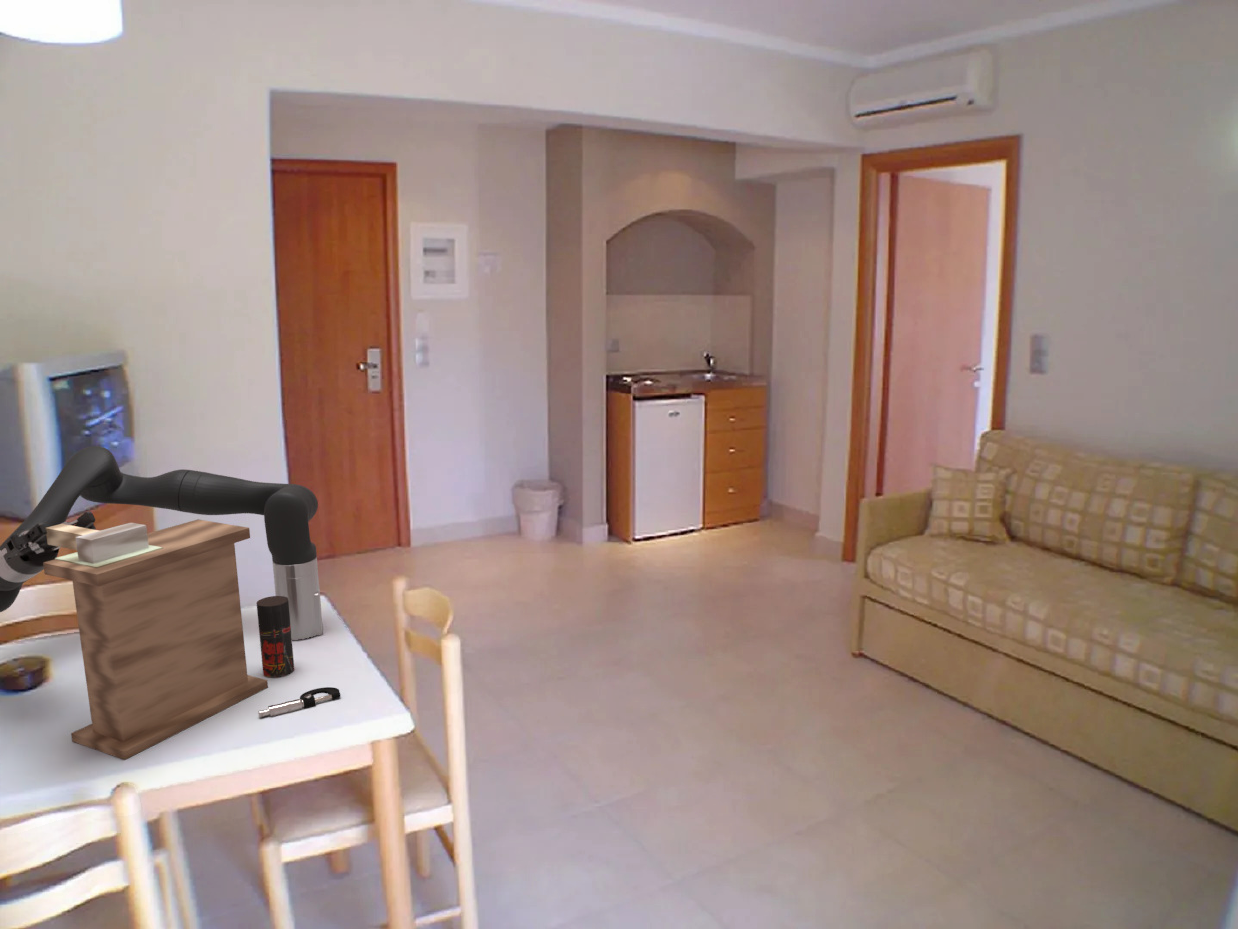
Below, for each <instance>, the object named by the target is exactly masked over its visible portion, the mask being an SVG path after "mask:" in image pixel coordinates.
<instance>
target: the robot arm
mask: <svg viewBox="0 0 1238 929" xmlns="http://www.w3.org/2000/svg"><path fill="white" fill-rule="evenodd" d="M79 497H81V498H82V499H84V500H86V501H88V502H93V503H97V504H99V503H100V504H111V505H112V504H114V505H131V506H133V505H134V506H142V507H149V508H158V509H163V510H172V511H177V512H182V513H186V514H187V513H189V514H192V515H193V514H194V515H195V514H196V515H201V516H202V515H203V516H226V515H227V516H228V515H238V514H241V515H242V514H250V515H251V514H252V515H258V516H259V515H260V516H263V520H264V521H263V522H264V527H265V528H264V529H265V534H266V542H267V543H266V544H267V547H268V548H267V549H268V551H269V553H270V555H271V559H272V571H273V584H274V592H275V593H274V594H275V595H274V596H284V597H287V598H288V601H289V613H290V625H291V636H292V641H298V639H302V640H304V639H303V638H307V639H310V638H309V637H311V638H313V636H314V637H316V636H315V635H317V636H320V635H319V634H322V633H323V627H322V625H323V615H322V613H323V612H322V601H321V590H320V589H321V588H320V583H319V582H320V581H319V570H318V569H319V568H318V557H317V556H318V555H317V547H316V544H315V543H314V542H312V541H311V535H310V524H309V522H310V521H311V520H312V519H313V518H314V517H315V515H316V513H317V512H318V507H319V502H318V498H317V496H316V495H315V494H314V492H313V491H312V490H311V489H309V488H307V487H305V486H304V485H302V484H301V485H300V484H295V483H279V482H278V483H274V482H259V481H254V480H253V481H252V480H247V479H243V478H238V477H233V476H228V475H227V476H226V475H223V474H216V473H210V472H206V471H200V470H199V471H198V470H193V469H175V470H172V471H168V472H165V473H162V474H160V475H156V476H151V477H147V476H146V477H145V476H139V475H138V476H137V475H132V474H131V475H130V474H127V473H123V472H122V471H121V469H120V467H119V465H118V462H117V460H116V458H115V455H114V454H113V453H112V451H110V450H109V449H107V448H106V447H104V446H100V445H99V446H98V445H92V446H87V447H84V448H82V449H80V450H78V451H76V452H75V453H74V454H73V455H72V456H71V457H70V458H69V460H68V461H67V462H66V463H65V465H64V466H63V468H62V469H61V471H60V472H59V474H58V475H57V476H56V478H55V480H54V481H53V483H52V484H51V485H50V487H49V488H48V490H47V491H46V492H45V494H44V495H43V497H42V498H41V500H40V501H39V502H38V503H37V505H36V506H35V507H34V509H33V510H32V511H31V512H30V514H29V515H28V516H27V517H26V518H25V520H24V521H22V523H20V525H19V526H18V527H17V528H16V529H15V530H14V531H13V532H11V534H10V535H9V536H8V537H7V538H6V539H5V540H4V541H3V542H2V543H0V613H3V612H4V611H7V610H8V609H9V608H10V607H11V606H12V605H13V604H14V602H15V601H16V599H17V597H18V595H19V593H20V591H21V589H22V587H23V584H24V583H25V582H27V581H28V580H29V579H32V578H33V577H35V576H37V575H38V574H39V573H41V572H42V571H44V566H43V563H44V562H47V561H51V560H54V559H55V558H57V557H59V556H58V555H59V551H60V549H61V548H62V547H58V546H53V545H48V543H47V536H46V535H47V530H46V528H47V527H51V526H55V525H59V524H66V525H71V526H77V527H82V528H88V529H93V530H97V528H96V526H95V524H94V523H95V522H96V517H95V514H94V513H93V512H92V511H91V510H89V511H85V512H84V513H83V514H81V515H80V516H79V517H78V518H76V519H75V520H73V521H67V519H68V516H69V514H70V512H71V510H72V508H73V506H74V504H76V502H77V500H78V499H79ZM322 635H323V634H322ZM296 639H297V640H296Z"/></svg>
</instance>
